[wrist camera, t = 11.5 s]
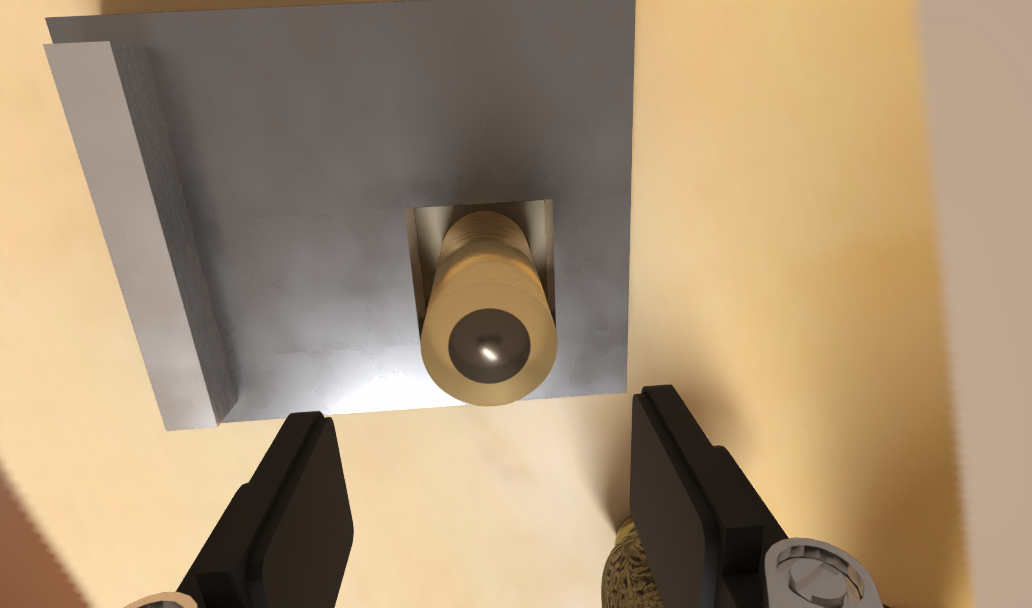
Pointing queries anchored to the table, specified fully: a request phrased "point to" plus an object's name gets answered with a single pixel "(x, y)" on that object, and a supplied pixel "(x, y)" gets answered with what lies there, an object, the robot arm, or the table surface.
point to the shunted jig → (345, 186)
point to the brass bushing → (487, 315)
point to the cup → (628, 573)
